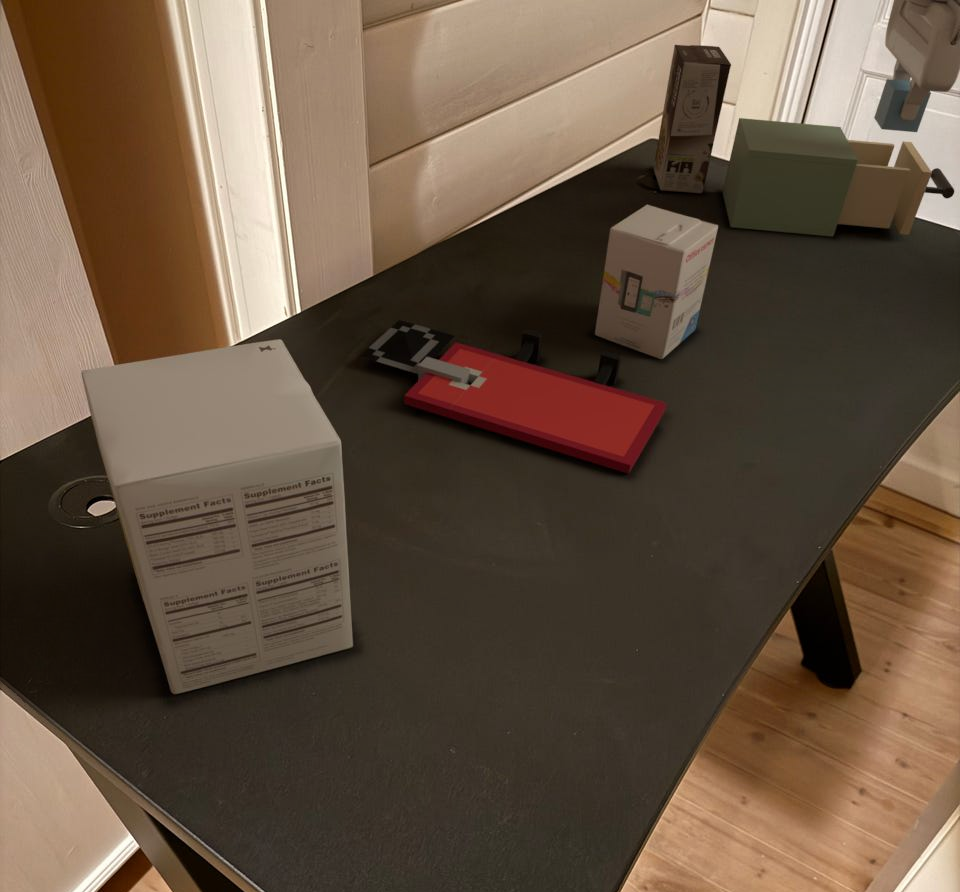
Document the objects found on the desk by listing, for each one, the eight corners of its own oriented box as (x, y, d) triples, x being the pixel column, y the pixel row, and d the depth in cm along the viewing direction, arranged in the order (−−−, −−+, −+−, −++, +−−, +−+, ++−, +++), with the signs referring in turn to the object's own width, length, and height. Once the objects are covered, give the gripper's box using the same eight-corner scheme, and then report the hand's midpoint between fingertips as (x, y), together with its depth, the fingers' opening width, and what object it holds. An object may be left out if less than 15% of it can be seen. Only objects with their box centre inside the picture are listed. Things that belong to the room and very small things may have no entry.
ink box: (629, 307, 106) (647, 201, 98) (697, 330, 103) (722, 223, 95) (592, 335, 101) (608, 226, 93) (662, 361, 98) (685, 250, 90)
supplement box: (135, 575, 71) (76, 366, 58) (304, 537, 75) (283, 334, 63) (170, 699, 63) (110, 487, 50) (358, 648, 67) (345, 440, 54)
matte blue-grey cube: (908, 120, 119) (922, 82, 115) (917, 132, 116) (931, 92, 112) (874, 117, 119) (886, 78, 116) (881, 129, 116) (894, 89, 112)
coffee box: (704, 194, 132) (732, 64, 120) (659, 191, 132) (683, 60, 120) (695, 170, 138) (721, 45, 127) (652, 168, 138) (674, 41, 127)
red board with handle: (407, 320, 101) (336, 386, 91) (407, 295, 99) (334, 360, 89) (674, 397, 93) (627, 478, 84) (680, 372, 91) (633, 452, 82)
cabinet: (818, 200, 133) (840, 126, 126) (833, 236, 124) (858, 159, 117) (722, 191, 133) (739, 117, 126) (730, 227, 124) (749, 149, 117)
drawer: (922, 204, 131) (945, 145, 125) (943, 238, 123) (968, 175, 118) (800, 193, 132) (818, 133, 126) (813, 226, 124) (832, 163, 118)
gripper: (1002, -1, 99) (948, 141, 109) (950, -40, 113) (907, 88, 123) (942, -5, 99) (893, 136, 109) (898, -44, 113) (859, 84, 123)
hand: (900, 110), depth 116 cm, fingers closed on matte blue-grey cube, 4 cm apart
